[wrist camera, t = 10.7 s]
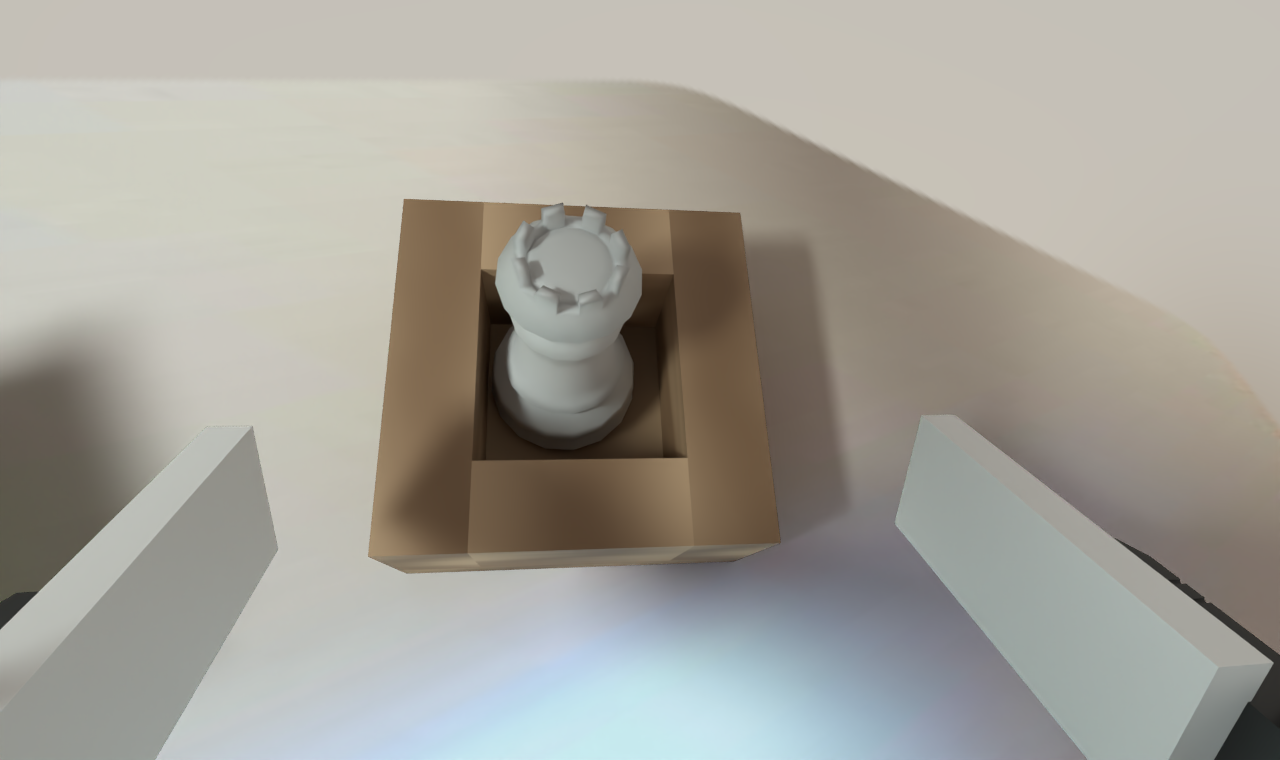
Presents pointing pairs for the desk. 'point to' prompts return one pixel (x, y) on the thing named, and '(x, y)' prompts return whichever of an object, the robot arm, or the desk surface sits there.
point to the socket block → (594, 474)
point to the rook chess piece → (565, 329)
